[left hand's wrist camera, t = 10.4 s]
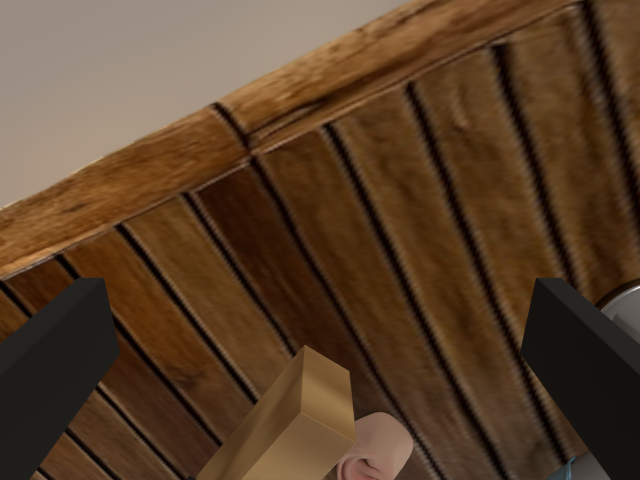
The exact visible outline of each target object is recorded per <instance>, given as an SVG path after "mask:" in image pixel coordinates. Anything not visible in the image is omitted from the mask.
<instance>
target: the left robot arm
mask: <svg viewBox="0 0 640 480" xmlns="http://www.w3.org/2000/svg"><path fill="white" fill-rule="evenodd" d="M119 354H120V351H119V346H118V341H117V337H116V332H115V327H114V323H113V318H112V314H111V309H110V304H109V300H108V295H107V290H106V286H105V281H104V278H78V279H77V280H76V281H74V282H73V283H72V284H71V285H70V286H69V287H67V288H66V289H65V290H64V291H63V292H61V293H60V294H59V295H58V296H57V297H56V298H54V299H53V300H52V301H51V302H50V303H48V304H47V305H46V306H45V307H44V308H42V309H41V310H40V311H39V312H38V313H37V314H35V315H34V316H33V317H32V318H31V319H29V320H28V321H27V322H26V323H25V324H24V325H22V326H21V327H20V328H19V329H18V330H16V331H15V332H14V333H13V334H12V335H11V336H9V337H8V338H7V339H6V340H5V341H3V342H2V343H1V344H0V480H30V478H31V477H32V475H33V474H34V473H35V471H36V470H37V468H38V467H39V466H40V464H41V463H42V461H43V460H44V459H45V457H46V456H47V454H48V453H49V452H50V450H51V449H52V447H53V446H54V445H55V443H56V442H57V440H58V439H59V438H60V436H61V435H62V433H63V432H64V431H65V429H66V428H67V427H68V425H69V424H70V422H71V421H72V420H73V418H74V417H75V415H76V414H77V413H78V411H79V410H80V408H81V407H82V406H83V404H84V403H85V401H86V400H87V399H88V397H89V396H90V394H91V393H92V392H93V390H94V389H95V387H96V386H97V385H98V383H99V382H100V380H101V379H102V378H103V376H104V375H105V373H106V372H107V371H108V369H109V368H110V366H111V365H112V364H113V362H114V361H115V360H116V358H117V357H118V355H119ZM520 354H521V355H522V357H523V358H524V360H525V361H526V362H527V364H528V365H529V366H530V368H531V369H532V371H533V372H534V373H535V375H536V376H537V378H538V379H539V380H540V382H541V383H542V385H543V386H544V387H545V389H546V390H547V392H548V393H549V394H550V396H551V397H552V399H553V400H554V401H555V403H556V404H557V406H558V407H559V408H560V410H561V411H562V413H563V414H564V415H565V417H566V418H567V420H568V421H569V422H570V424H571V425H572V427H573V428H574V429H575V431H576V432H577V433H578V435H579V436H580V438H581V439H582V440H583V442H584V443H585V445H586V446H587V447H588V449H589V451H587V452H585V453H583V454H581V455H580V456H574V457H572V458H571V459H570V460H569V461H568V463H567V464H566V465H564V466H563V467H561V468H560V469H558V470H557V471H555V472H554V473H552V474H551V475H549V476H548V477H547V479H546V480H640V278H639V279H635V280H633V281H630V282H628V283H626V284H624V285H622V286H620V287H618V288H617V289H615V290H614V291H612V292H611V293H609V294H608V295H607V296H606V297H604V298H603V299H602V300H601V301H600V302H599V303H598V304H597V305H596V306H594V305H593V304H592V303H590V302H589V301H588V300H587V299H586V298H584V297H583V296H582V295H581V294H580V293H579V292H577V291H576V290H575V289H574V288H573V287H571V286H570V285H569V284H568V283H567V282H566V281H564V280H563V279H562V278H536V281H535V286H534V290H533V295H532V300H531V304H530V309H529V314H528V318H527V323H526V327H525V332H524V337H523V341H522V346H521V351H520Z"/></svg>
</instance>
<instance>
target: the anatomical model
mask: <svg viewBox="0 0 640 480" xmlns="http://www.w3.org/2000/svg"><path fill="white" fill-rule="evenodd" d="M354 423H355V432H356V442H357V443H356V444H355V445H354V446H353V447H352V448H351V449H350V450H349V451H348V452H347V454H346V455H345V456H344V457H343V458H342V459H341V460H340V461H339V462H338V463H337V469H336V476H337V480H394V478H395V477H396V475H397V474H398V473H399V471H400V470H401V469H402V467H403V466H404V464H405V463H406V461H407V460H408V458H409V456H410V454H411V452H412V449H413V440H412V437H411V435H410V434H409V432H408V431H407V430H406V428H405V427H404V426H403V425H402V424H401V423H400V422H398V421H397V420H396V419H395V418H393V417H392V416H391V415H389V414H387V413H383V412H377V413H373V414H370V415H367V416H365V417H363V418H360V419H358V420H356V421H354Z"/></svg>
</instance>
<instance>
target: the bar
mask: <svg viewBox="0 0 640 480" xmlns="http://www.w3.org/2000/svg"><path fill="white" fill-rule="evenodd" d="M356 443H357V442H356V432H355V423H354V413H353V404H352V394H351V384H350V375H349V371H348V370H346V369H344V368H343V367H341V366H339V365H338V364H336V363H334V362H333V361H331V360H329V359H328V358H326V357H324V356H323V355H321V354H319V353H318V352H316V351H314V350H313V349H311V348H309V347H307V346H306V345H304V346H303V347H302V349H301V350H300V351H299V352H298V354H297V355H296V356H295V357H294V358H293V360H292V361H291V362H290V363H289V364H288V366H287V367H286V368H285V369H284V371H283V372H282V373H281V374H280V375H279V377H278V378H277V379H276V380H275V381H274V383H273V384H272V385H271V386H270V388H269V389H268V390H267V391H266V392H265V394H264V395H263V396H262V397H261V399H260V400H259V401H258V402H257V403H256V405H255V406H254V407H253V408H252V409H251V411H250V412H249V413H248V414H247V416H246V417H245V418H244V419H243V420H242V422H241V423H240V424H239V425H238V426H237V428H236V429H235V430H234V431H233V433H232V434H231V435H230V436H229V437H228V439H227V440H226V441H225V442H224V444H223V445H222V446H221V447H220V448H219V450H218V451H217V452H216V453H215V454H214V456H213V457H212V458H211V459H210V461H209V462H208V463H207V464H206V465H205V467H204V468H203V469H202V470H201V471H200V473H199V474H198V475H197V476H196V478H195V479H196V480H321V479H322V478H323V477H324V476H325V475H326V474H327V473H328V472H329V471H330V470H331V469H332V468H333V467H334V466H335V465H336V464H337V463H338V462H339V461H340V460H341V459H342V458H343V457H344V456H345V455H346V454H347V452H348V451H349V450H350V449H351V448H352V447H353V446H354V445H355V444H356Z"/></svg>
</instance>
